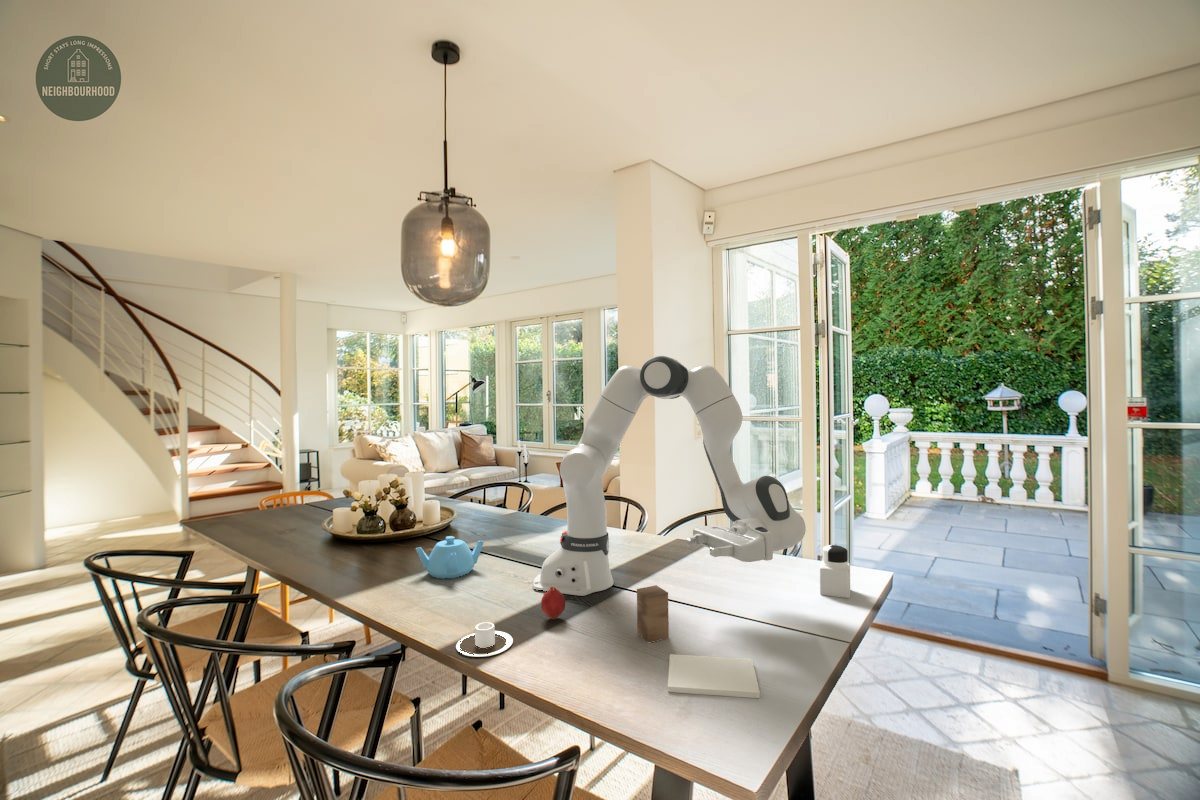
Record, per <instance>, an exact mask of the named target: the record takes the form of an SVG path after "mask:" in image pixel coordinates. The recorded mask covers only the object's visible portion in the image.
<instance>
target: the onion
mask: <svg viewBox="0 0 1200 800" xmlns="http://www.w3.org/2000/svg"><path fill="white" fill-rule="evenodd" d="M540 607H541V610H542V612H543V614H545V615H546V616H548V617H549V618H550V619H551V620H556V619H557V618H559V616H561V615H562V614H563V612H564V611H565V609H566V598H565V595H564V594H563V593H561V592H560V591H559V590H557V589H556V588H555V586H551V588H550V590H548V591H547V592H546V591H545V592H544V594H543V596H542V597H541V601H540Z"/></svg>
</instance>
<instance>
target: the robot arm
mask: <svg viewBox="0 0 1200 800" xmlns="http://www.w3.org/2000/svg"><path fill="white" fill-rule="evenodd" d="M649 396H652V397H655V398H657V399H662V400H669V399H670V400H672V399H678V398H679V397H683V398H685V400H687V402H688V403H689V405H690V407H691V408H692V411H693V413H694V415H695V417H696V418H697V421H698V424H699V425H700V428H701V429H700V430H701V432H702V436H703V437H702V441H703V442H702V444H703V448H704V452H705V454H706V457H707V460H708V463H709V466H710V468H711V470H712V473H713V475H714V478H715V480H716V484H717V486H718V489H719V492H720V497H721V504H722V508H723V511H724V513H725V514H726V516H727V518H728V519H729V520H730V521H731V522H732V523H731V524H732V525H731V527H726V526H724V525H719V524H711V525H703V526H702V525H701V526H695V527H694V528H693V529H692V536H691V537H687V538H686V539H685V545H686V546H688V547H690V548H692V547H697V545H700V546H702V547H706V548H708V549H709V555H710V556H711V557H714V558H718V557H728V558H730V557H731V558H732V559H735V560H738V561H740V562H744V563H752V562H757V561H758V562H760V561H765V562H766V561H767V562H768V561H771V560H772V561H773V559H774V552H778V551H783V550H786V549H789V548H793V547H794V546H796V545H798V544H799V543H800V542H801V541H802V540H803V539H804V537H805V535H806V530H807V529H806V527H807V526H806V523H805V519H804V518H803V517H802V515H801V514H800V513H799V512H797V511H796V510H795V508H793V507H792V505H791V502H790V501H789V498H788V494H787V491H786V489H785V486H784V485H783V483H781V481H779V480H778V479H777V478H776V477H774V476H770V475H763V476H760V477H758V478H755V479H752V480H750V481H747V482H746V483H745V482H743V481H742V480H741V478H740V475H739V472H738V470H737V468H736V466H735V462H734V460H733V458H732V454H731V453H732V452H731V450H732V449H731V448H732V444H733V441H734V439H735V437H736V436H737V435H738V433H739V431H740V429H741V427H742V424H743V412H742V409H741V406H740V404H739V402H738V400H737V399H736V397H735V395H734V393H733V391H732V389H731V387H730V386H729V384H728V383H727V382H726V380H725V378H724V377H723V376H722V375H721V373H720V372H719V371H718V370H717V369H716V368H715V367H714V366H713V365H708V364H704V365H703V364H702V365H699V366H695V367H694V368H692V369H688V368H687V367H686V366H684V365H683V364H682V363H681V361H680V362H679V361H678V360H677V359H675V358H671V357H669V356H664V355H655V356H653V357H651V358H649V359H647V360H646V361H645V362H644V363H643V364H642V367H641V368H638V367H635V366H634V365H622V366H620V367H619V368H617V370H616V371H615V372H614V373H613V375H612V376H611V378H610V379H609V381H608V382H607V383H606V385H605V387H604V388H603V390H602V391H601V394H600V395H599V397H598V399H597V401H596V403H595V404H594V406H593V408H592V410H591V412H590V414H589V416H588V418H587V421H586V424H585V427H584V429H583V431H582V434H581V437H580V439H579V441H578V443H577V444H576V446H575V447H574V448H573V449H570V450H568V451H567V452H566V453H565V455H564V456H563V458H562V460H561V462H560V465H559V475H560V478H561V480H562V485H563V491H564V497H565V501H566V502H565V503H566V520H567V521H566V523H567V524H566V526H567V527H566V528H567V530H564V531H563V532H562V533H561V536H560V538H559V543H560V547H558V548H557V549H556V550H555V551H554V552H553V553H551V554H550V555H549V556H547V557H546V559H544V561H543V563H542V566H541V570H540V573H539V574H537V576H536V577H535V578H534V579H533V581H532V588H534V589H536V590H535V591H538V590H543V591H542V592H546V591H548V590H550V588H551V586H555V588H556V589H557V590H559V591H560V592H561V593H562V594H563V595H564V594H565V595H573V596H580V597H581V596H582V597H583V596H584V597H585V596H587V595H590V594H592V593H596V592H601V591H602V592H603V591H605V590H607V589H609V588H611V587H612V586H613V585H614V579H613V576H612V572H611V567H610V566H611V565H610V561H609V552H610V538H609V533H608V530H607V529H608V526H607V525H608V523H607V504H606V499H605V493H604V486H603V477H604V476H605V475H606V473H607V471H608V470H609V468H610V465H611V464H612V461H613V460H614V458H615V456H616V454H617V452H618V449H619V447H620V445H621V443H622V441H623V438H624V437H625V434H626V432H627V431H628V429H629V427H630V425H631V424H632V421H633V420H634V418H635V416H636V414H637V412H638V410H639V409H640V407H641V405H642V403H643V402H644V400H645V399H646V398H648V397H649ZM534 589H533V590H534Z"/></svg>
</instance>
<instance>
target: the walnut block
mask: <svg viewBox="0 0 1200 800" xmlns="http://www.w3.org/2000/svg"><path fill="white" fill-rule="evenodd" d="M636 604H637V605H636V615H637V617H636V618H637V619H636V621H637V622H636V623H637V625H636V626H637V629H636V630H637V635H639V637H641V636H642V637H643V638H644V639H643V638H642V637H641V638H642V639H643V640H644V641H646V640H647V641H648V642H651V643H654V642H653V641H655V642H657V640H659V641H661V640H660V639H663V640H666V638H667V639H669V637H670V633H669V631H670V629H669V625H670V624H669V592H668V591H666V590H665V589H663V588H661V587H660V586H659V585H657V584H656V585H651V586H650V585H649V586H646V587H640V588H636ZM647 641H646V642H647ZM648 642H647V643H648Z"/></svg>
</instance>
